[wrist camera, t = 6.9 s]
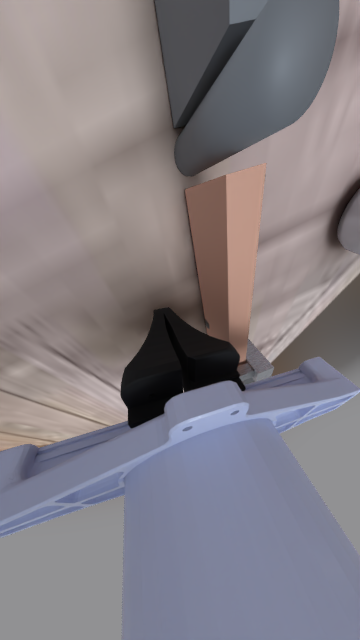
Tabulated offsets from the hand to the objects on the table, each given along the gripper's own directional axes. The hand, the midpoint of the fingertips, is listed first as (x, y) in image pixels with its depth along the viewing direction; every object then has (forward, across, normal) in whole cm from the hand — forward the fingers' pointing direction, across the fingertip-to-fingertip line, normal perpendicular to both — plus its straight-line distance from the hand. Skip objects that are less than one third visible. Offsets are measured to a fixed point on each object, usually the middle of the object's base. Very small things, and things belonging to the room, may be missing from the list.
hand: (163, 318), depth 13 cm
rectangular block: (+1, -4, -2) cm, 5 cm away
